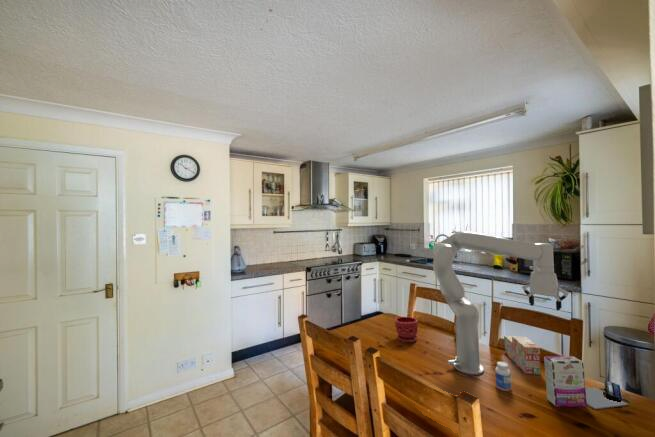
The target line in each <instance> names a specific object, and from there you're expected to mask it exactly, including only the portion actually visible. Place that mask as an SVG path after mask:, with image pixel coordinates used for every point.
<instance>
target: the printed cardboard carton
mask: <svg viewBox="0 0 655 437" xmlns="http://www.w3.org/2000/svg"><path fill="white" fill-rule="evenodd" d="M503 336H504V337H503V339H504V351H505V353H504V354H506V355H507V356H508V358H509V359H511V360H512V361H513V363H515V365H517V367H518V368H519V369H521V370H522V371H523V373H524V374H527V375H540V374H541V372H542V371H541V350H540V349H541V348H540V347H539V346H538V345H537V344H536V343H534V342H533V341H532V340H530V339H529V338H528V337H526V336H517V335H503Z"/></svg>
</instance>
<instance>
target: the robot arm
mask: <svg viewBox="0 0 655 437" xmlns="http://www.w3.org/2000/svg"><path fill="white" fill-rule="evenodd" d="M461 249H464V250H470V251H475V252H481V253H485V254H491V255H496V256H497V255H498V256H506V257H514V258H519V259H523V260H529V261H532V262H533V263H532V266H531V265H530V266H529V270H532V271H530V277H529V283H528V284H525V285H522V286H521V289H522V290H523V292H524V294H526V295H527V296H528V303H529V304H530V306H532V307H533V306H534V305H535V296H534V295H539V296H545V297H552V298H554V299H556V301H555V310H556V311H560V310H561V309H563V308H562V301H563V300H565V299H567V298H568V296H569V294H570V292H569V291H567V290H565V289H563V288H561V287H560V286H559V282H558V277H557V273H555V263H554V245H553V244H552V243H549V242H537V243H536V242H535V243H533V242H532V243H531V242H528V241H527V242H526V241H521V240H516V239H511V238H505V237H502V236H501V237H500V236H496V235H489V234H485V233H480V232H479V233H477V232H472V231H467V230H464V231H463V230H461V231H460V230H459V231H457V232H455V233H453V234H451V235H450V236H448V237H447V238H445V239H443V240H441V241H440V242H438V243H436V244H435V245H434V246H433V248H432V254H433V255H434V258H433V261H432V269H433V272H434V275H435V276H436V280H437V281H438V282H439V290H440V293H441V294H442V296H443V298H444V300H445V301H446V303H447V305H448V306H449V309H450V310H451V311H452V312H453V314H454V315H455V316H456V321H455V338H456V340H455V342H456V356H454V359H448V360H447V362H446V363H447V364H448V365H449V366H450V365H453V367H454V369H456V370H457V371H459V372H461V373H463V374H467V375H472V376H473V375H481V374H483V373H484V368H485V367H483V365H482V364H481V362H480V347H479V346H480V345H479V341H480V340H479V319H480V313H479V309H478V307H477V306H476V305H475V303H473V302H472V301H470V300H469V299H468V298H467V297H466V295H465V294H466V293H465V288H464V286H463V284H462V282H461V281H460V279H459V277H458V276H457V274H456V273H455V272H456V271H455V270H454V268H453V262H454V259H455V257H456V256H457V255H456V253H458V252H459V251H461ZM528 288H529V290H528ZM560 292H561V293H562V294H563V295H562V296H560V295H559V294H560Z"/></svg>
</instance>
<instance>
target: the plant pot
mask: <svg viewBox="0 0 655 437" xmlns="http://www.w3.org/2000/svg"><path fill="white" fill-rule="evenodd" d="M394 321H395V322H394V324H395V325H394V326H395V330H396V333H397V339H398V340H399V341H400V342H403V343H414V342H415V341H417V340H418V336H417V334H418V331H419V330H418V327H419V324H418V323H419V322H418V319H417V318H415V317H410V316H400V317H399V316H398V317H397V318H395V319H394Z"/></svg>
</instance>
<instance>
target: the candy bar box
mask: <svg viewBox="0 0 655 437" xmlns="http://www.w3.org/2000/svg"><path fill="white" fill-rule="evenodd" d="M543 360H544V361H543V362H544V373H545V390H546V398H547V401H549V402H550V403H551V404H552V405H554V407H555V408H564V407H565V408H572V407H573V408H574V407H575V408H577V407H578V408H579V407H580V408H581V407H582V408H583V407H587V406H588V405H587V403H586V391H585V389H586V379H585V378H586V377H585V369H584V361H583V360H581V359H579V358H578V357H576V356H574V355H561V356H560V355H557V356H556V355H555V356H554V355H553V356H543Z"/></svg>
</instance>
